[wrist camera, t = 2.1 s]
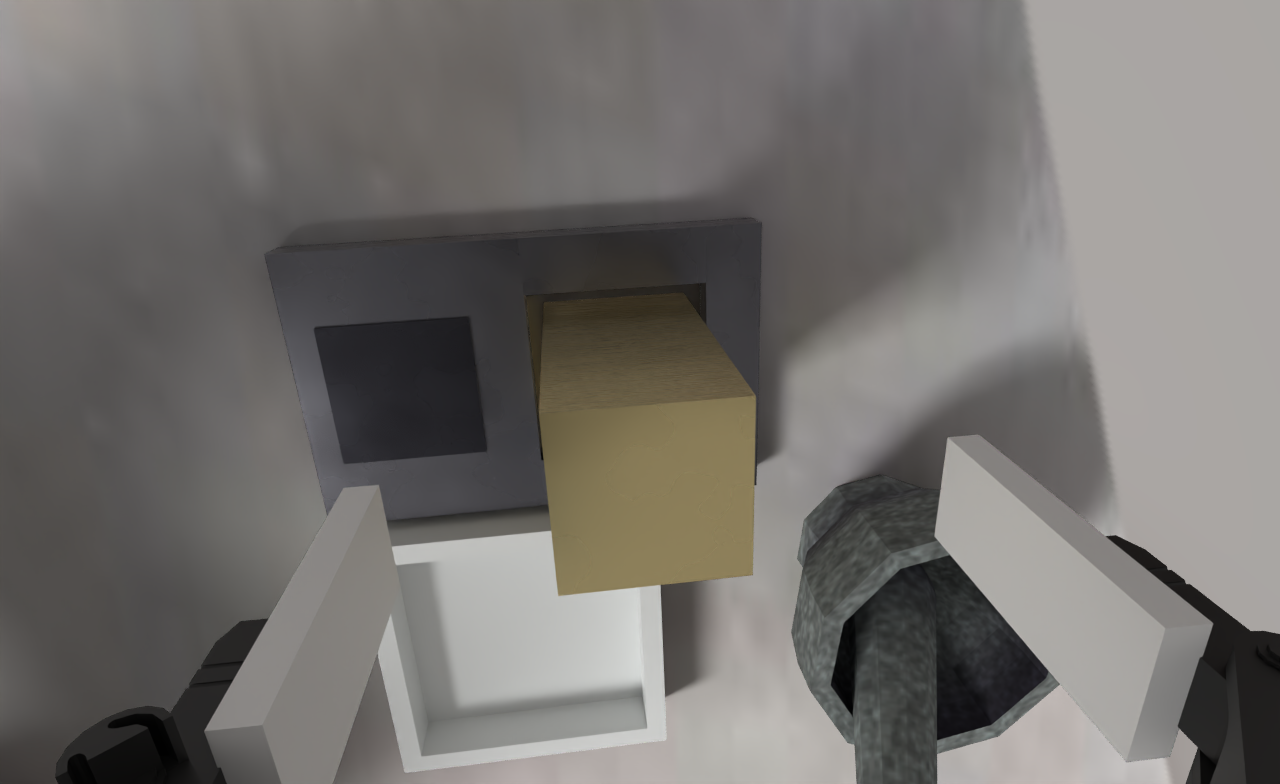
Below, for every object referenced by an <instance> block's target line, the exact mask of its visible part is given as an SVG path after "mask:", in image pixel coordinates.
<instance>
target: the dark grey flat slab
mask: <svg viewBox="0 0 1280 784" xmlns="http://www.w3.org/2000/svg"><path fill="white" fill-rule="evenodd" d="M761 227H762V223H761V222H759V221H757V220H755V219H754V218H741V219H725V220H709V221H693V222H677V223H660V224H644V225H628V226H612V227H596V228H580V229H564V230H548V231H532V232H516V233H500V234H484V235H468V236H452V237H435V238H419V239H403V240H387V241H371V242H355V243H339V244H323V245H307V246H291V247H278V248H276V249H274V250H272V251H270V252H268V253H266V254H265V259H266V263H267V267H268V271H269V275H270V279H271V283H272V288H273V292H274V296H275V300H276V304H277V308H278V313H279V317H280V321H281V325H282V329H283V333H284V337H285V342H286V346H287V350H288V354H289V358H290V362H291V366H292V371H293V375H294V379H295V383H296V387H297V391H298V396H299V400H300V404H301V408H302V412H303V416H304V420H305V425H306V429H307V433H308V437H309V441H310V445H311V449H312V454H313V458H314V462H315V466H316V470H317V474H318V478H319V483H320V487H321V491H322V495H323V499H324V503H325V508H326V512H327V516H328V514H329V512H330V511H331V509H332V507H333V505H334V504H335V502H336V500H337V498H338V497H339V495H340V493H341V491H342V490H343V488H348V487H360V486H371V485H379V488H380V493H381V498H382V502H383V507H384V512H385V517H386V521H388V520H399V519H409V518H420V517H430V516H440V515H451V514H461V513H472V512H482V511H492V510H503V509H513V508H524V507H534V506H544V505H548V496H547V486H546V477H545V467H544V458H543V448H542V444H541V435H540V425H539V416H538V406H537V397H536V387H535V378H534V368H533V359H532V350H531V340H530V331H529V321H528V312H527V302H526V295H538V294H552V293H567V292H581V291H595V290H610V289H624V288H638V287H652V286H667V285H681V284H695V283H700V317H701V319H702V320H703V321H704V323H705V324H706V326H707V327H708V328H709V330H710V331H711V333H712V334H713V336H714V337H715V338H716V340H717V341H718V343H719V344H720V346H721V347H722V348H723V350H724V351H725V353H726V354H727V355H728V357H729V358H730V360H731V361H732V363H733V364H734V365H735V367H736V368H737V370H738V371H739V372H740V374H741V375H742V377H743V378H744V380H745V381H746V382H747V384H748V385H749V387H750V388H751V389H752V391H753V392H754V394H755V395H756V420H755V474H754V485H756V476H757V426H758V376H759V327H760V277H761Z"/></svg>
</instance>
